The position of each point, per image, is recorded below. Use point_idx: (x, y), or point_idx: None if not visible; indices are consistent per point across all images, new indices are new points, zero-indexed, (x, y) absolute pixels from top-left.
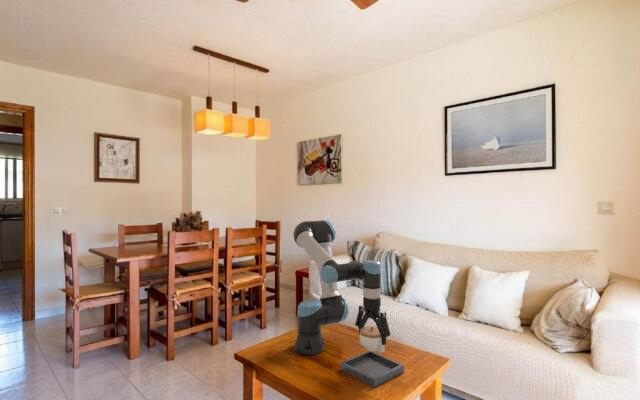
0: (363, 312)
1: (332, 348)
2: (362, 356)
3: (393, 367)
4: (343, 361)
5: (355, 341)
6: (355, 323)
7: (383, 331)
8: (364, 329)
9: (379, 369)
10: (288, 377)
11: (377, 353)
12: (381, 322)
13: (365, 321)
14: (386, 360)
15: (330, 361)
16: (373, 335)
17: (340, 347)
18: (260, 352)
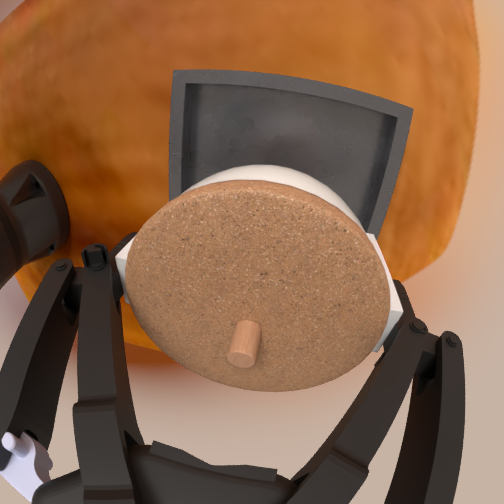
0: (24, 396)
1: (58, 148)
2: (185, 142)
3: (357, 112)
4: None
5: (69, 36)
6: (65, 309)
7: (411, 402)
8: (181, 341)
9: (312, 170)
10: (142, 341)
11: (228, 71)
12: (396, 479)
13: (117, 352)
14: (307, 93)
15: (121, 226)
16: (320, 384)
17: (65, 118)
18: (34, 290)
